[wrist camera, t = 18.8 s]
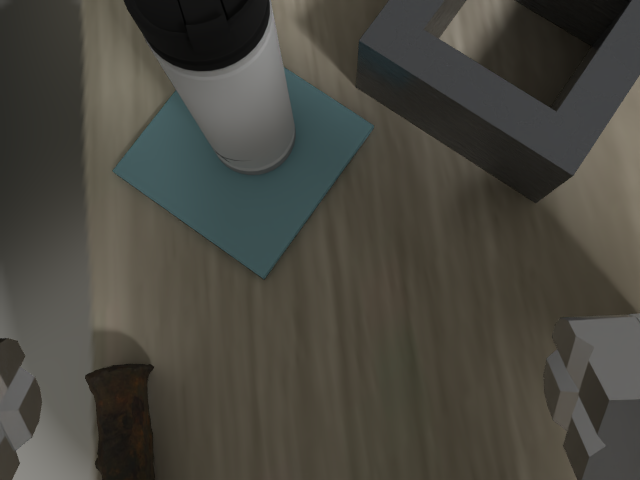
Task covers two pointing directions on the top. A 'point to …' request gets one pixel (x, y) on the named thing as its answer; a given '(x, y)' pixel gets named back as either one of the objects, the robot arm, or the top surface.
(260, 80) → the travel mug
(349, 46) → the top surface
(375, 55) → the square collar
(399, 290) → the top surface
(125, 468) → the hand tool
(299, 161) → the rubber mat
